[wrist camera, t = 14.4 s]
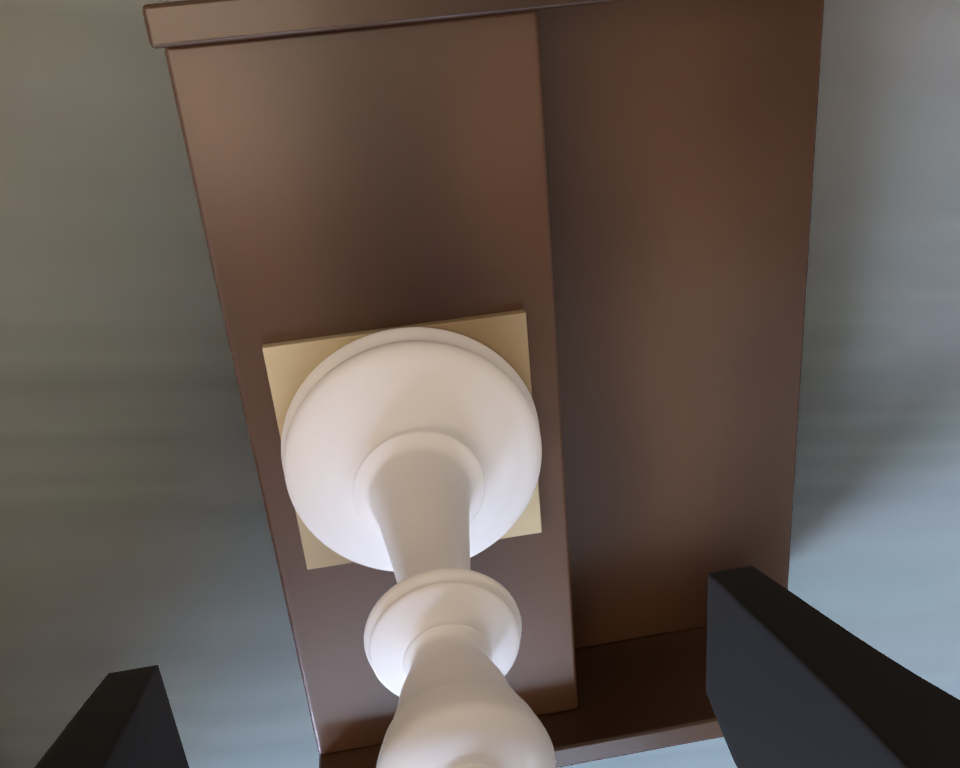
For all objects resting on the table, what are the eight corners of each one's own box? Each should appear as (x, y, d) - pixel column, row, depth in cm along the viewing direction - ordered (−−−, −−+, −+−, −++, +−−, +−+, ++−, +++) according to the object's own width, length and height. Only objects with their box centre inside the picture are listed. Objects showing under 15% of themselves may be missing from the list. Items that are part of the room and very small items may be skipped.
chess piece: (279, 322, 16) (197, 766, 7) (551, 328, 16) (811, 731, 7) (282, 559, 18) (222, 1155, 9) (526, 553, 18) (709, 1094, 9)
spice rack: (325, 658, 24) (322, 812, 19) (192, 3, 17) (139, 4, 13) (753, 585, 25) (845, 715, 20) (781, -54, 18) (925, -72, 14)
